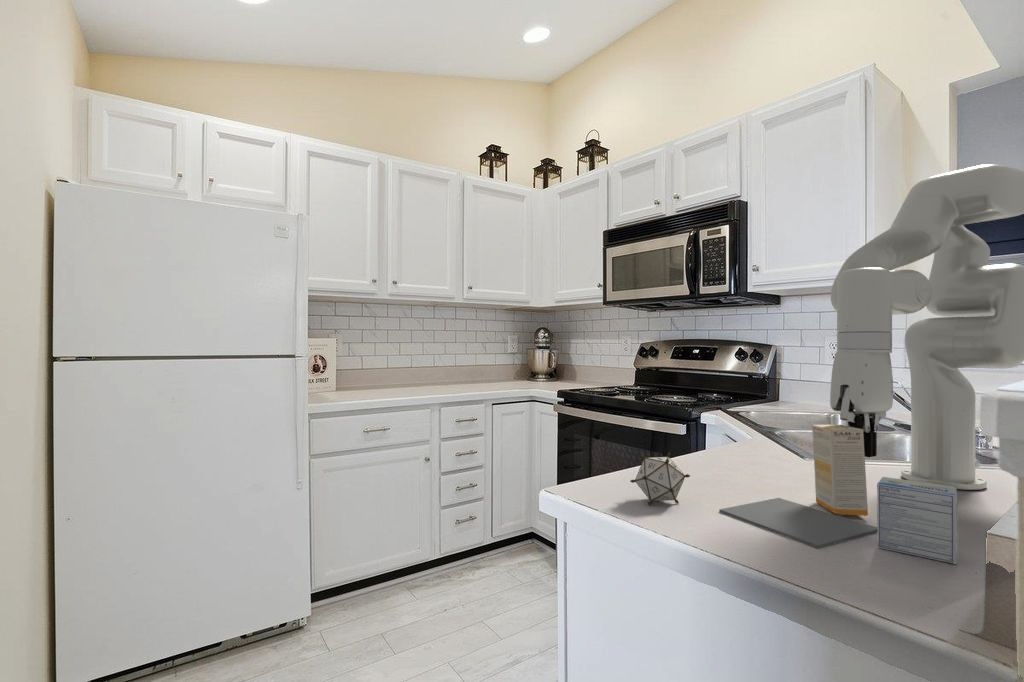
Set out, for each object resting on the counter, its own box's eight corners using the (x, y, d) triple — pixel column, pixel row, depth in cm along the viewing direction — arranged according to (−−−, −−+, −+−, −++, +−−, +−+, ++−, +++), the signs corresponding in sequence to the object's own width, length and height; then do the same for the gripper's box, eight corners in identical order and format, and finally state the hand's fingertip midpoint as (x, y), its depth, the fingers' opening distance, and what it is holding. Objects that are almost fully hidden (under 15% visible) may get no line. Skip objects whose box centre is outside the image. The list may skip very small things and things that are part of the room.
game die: (647, 524, 86) (611, 473, 88) (674, 497, 91) (639, 450, 93) (683, 512, 79) (642, 457, 81) (710, 483, 84) (671, 432, 86)
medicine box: (957, 555, 65) (957, 486, 65) (956, 566, 62) (956, 494, 62) (881, 539, 70) (881, 475, 70) (876, 548, 67) (876, 482, 67)
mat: (778, 500, 87) (778, 497, 87) (880, 531, 73) (880, 528, 73) (719, 511, 81) (719, 509, 81) (818, 548, 67) (818, 545, 67)
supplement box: (870, 516, 77) (865, 429, 78) (834, 515, 78) (830, 428, 79) (846, 503, 85) (842, 423, 86) (814, 501, 86) (810, 423, 87)
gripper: (866, 344, 91) (866, 447, 91) (812, 343, 85) (812, 454, 85) (914, 344, 85) (914, 455, 84) (860, 343, 78) (860, 464, 78)
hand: (863, 455), depth 85 cm, fingers closed
